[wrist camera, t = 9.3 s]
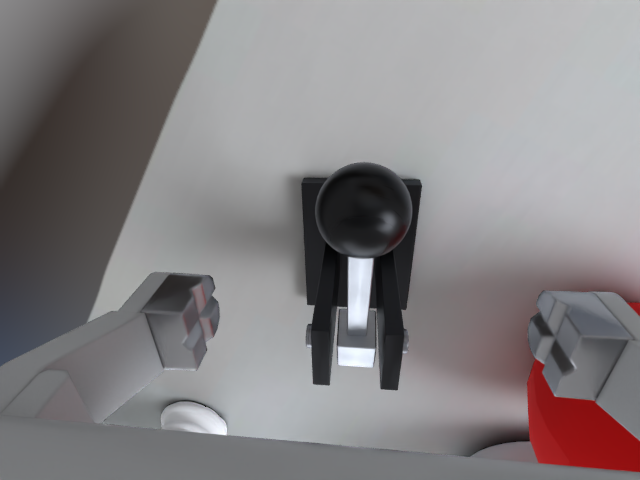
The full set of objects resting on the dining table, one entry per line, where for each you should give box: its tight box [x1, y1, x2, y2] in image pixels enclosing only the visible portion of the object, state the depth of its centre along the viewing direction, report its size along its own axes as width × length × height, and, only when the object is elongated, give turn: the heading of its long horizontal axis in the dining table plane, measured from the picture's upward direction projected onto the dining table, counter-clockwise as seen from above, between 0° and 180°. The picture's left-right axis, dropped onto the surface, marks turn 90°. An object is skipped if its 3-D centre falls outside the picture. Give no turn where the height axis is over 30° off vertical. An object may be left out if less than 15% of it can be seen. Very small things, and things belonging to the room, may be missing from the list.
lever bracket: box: [302, 178, 422, 390], centre depth 26 cm, size 12×9×13 cm
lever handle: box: [315, 162, 412, 367], centre depth 18 cm, size 14×4×4 cm, turn 1°
